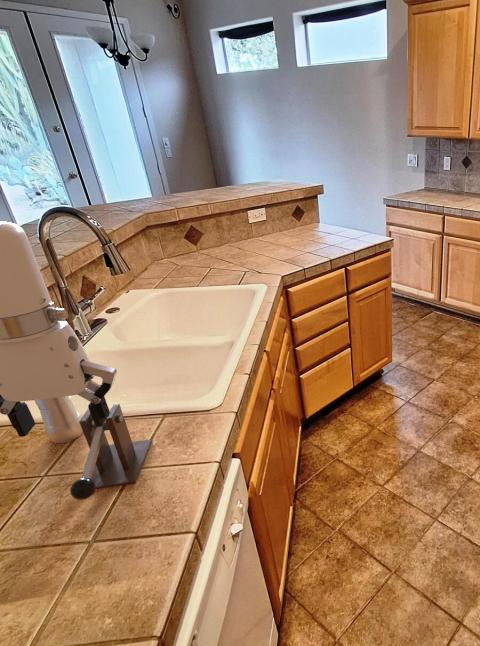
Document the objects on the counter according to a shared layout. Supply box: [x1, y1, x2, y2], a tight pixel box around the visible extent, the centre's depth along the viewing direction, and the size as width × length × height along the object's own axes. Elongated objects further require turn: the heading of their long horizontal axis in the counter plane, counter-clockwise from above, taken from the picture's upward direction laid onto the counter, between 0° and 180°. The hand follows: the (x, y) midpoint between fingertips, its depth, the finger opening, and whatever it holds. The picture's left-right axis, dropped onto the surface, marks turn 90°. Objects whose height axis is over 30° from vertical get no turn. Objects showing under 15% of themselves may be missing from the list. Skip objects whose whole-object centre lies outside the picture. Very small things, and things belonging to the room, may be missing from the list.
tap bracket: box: [79, 403, 154, 490], centre depth 79 cm, size 12×9×13 cm
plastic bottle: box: [33, 396, 84, 444], centre depth 85 cm, size 6×7×20 cm
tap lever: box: [69, 410, 110, 501], centre depth 73 cm, size 16×3×3 cm, turn 13°
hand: (65, 425), depth 64 cm, fingers open, 9 cm apart
